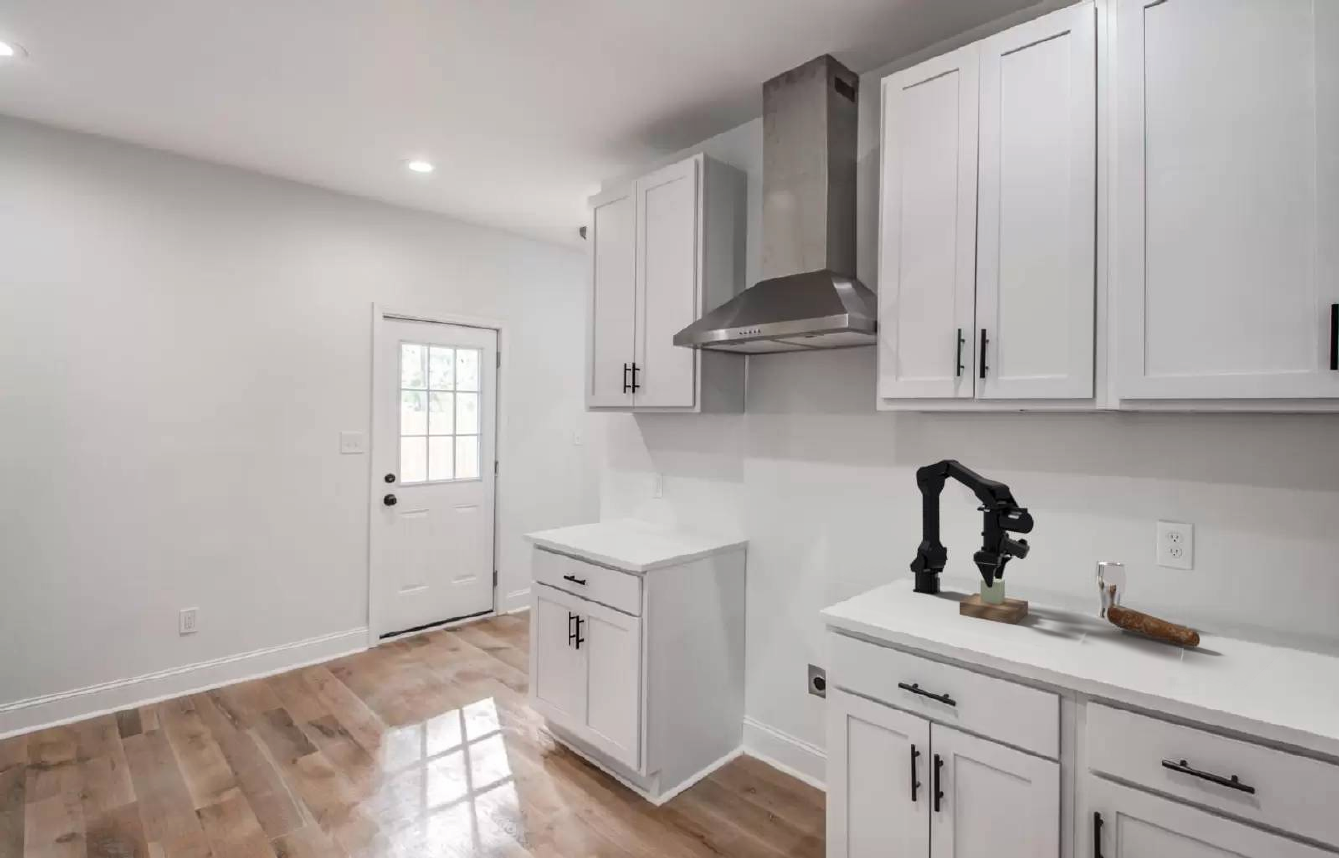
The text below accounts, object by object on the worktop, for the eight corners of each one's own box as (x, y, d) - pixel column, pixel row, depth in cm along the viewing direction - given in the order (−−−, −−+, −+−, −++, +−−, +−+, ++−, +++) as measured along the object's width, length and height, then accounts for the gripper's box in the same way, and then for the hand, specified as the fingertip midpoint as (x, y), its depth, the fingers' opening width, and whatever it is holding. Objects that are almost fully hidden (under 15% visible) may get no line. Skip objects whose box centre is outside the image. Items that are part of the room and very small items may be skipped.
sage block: (980, 601, 181) (980, 580, 181) (985, 598, 185) (985, 577, 185) (1000, 604, 178) (1000, 582, 178) (1004, 601, 182) (1004, 579, 182)
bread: (1112, 625, 169) (1116, 604, 170) (1202, 649, 153) (1205, 626, 154) (1101, 623, 166) (1105, 601, 167) (1192, 647, 150) (1195, 623, 151)
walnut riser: (959, 616, 180) (959, 602, 181) (974, 606, 191) (974, 592, 191) (1015, 626, 171) (1015, 611, 171) (1027, 615, 182) (1028, 601, 182)
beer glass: (1099, 620, 175) (1099, 565, 176) (1091, 614, 182) (1091, 560, 182) (1129, 623, 173) (1129, 567, 174) (1119, 616, 180) (1120, 562, 180)
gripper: (1018, 535, 169) (1018, 595, 169) (1034, 528, 183) (1034, 583, 183) (972, 531, 176) (972, 588, 176) (991, 524, 190) (991, 577, 190)
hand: (994, 584), depth 181 cm, fingers open, 9 cm apart
